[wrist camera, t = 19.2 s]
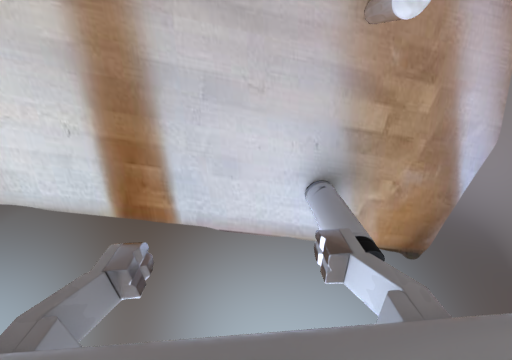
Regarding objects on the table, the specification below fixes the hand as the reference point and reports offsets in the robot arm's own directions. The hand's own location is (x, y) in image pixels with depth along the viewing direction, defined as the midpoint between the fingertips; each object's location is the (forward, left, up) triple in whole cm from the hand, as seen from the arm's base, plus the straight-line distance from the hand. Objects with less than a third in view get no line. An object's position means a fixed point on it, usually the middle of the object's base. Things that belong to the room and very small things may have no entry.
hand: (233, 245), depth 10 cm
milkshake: (+18, +18, -31) cm, 40 cm away
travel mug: (+18, -14, -31) cm, 39 cm away
